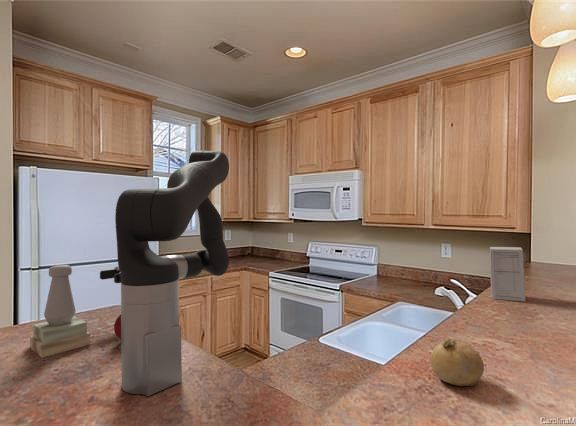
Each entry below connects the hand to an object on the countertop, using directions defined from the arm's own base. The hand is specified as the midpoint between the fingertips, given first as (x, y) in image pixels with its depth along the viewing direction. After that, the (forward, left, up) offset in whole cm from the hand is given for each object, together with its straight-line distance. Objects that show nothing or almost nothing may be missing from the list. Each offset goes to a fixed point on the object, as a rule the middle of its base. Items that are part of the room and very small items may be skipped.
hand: (107, 277), depth 81 cm
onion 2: (-73, -26, -14) cm, 79 cm away
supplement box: (-73, -99, -14) cm, 124 cm away
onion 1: (-10, 0, -14) cm, 17 cm away
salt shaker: (0, +10, -9) cm, 14 cm away
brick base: (0, +10, -14) cm, 17 cm away
